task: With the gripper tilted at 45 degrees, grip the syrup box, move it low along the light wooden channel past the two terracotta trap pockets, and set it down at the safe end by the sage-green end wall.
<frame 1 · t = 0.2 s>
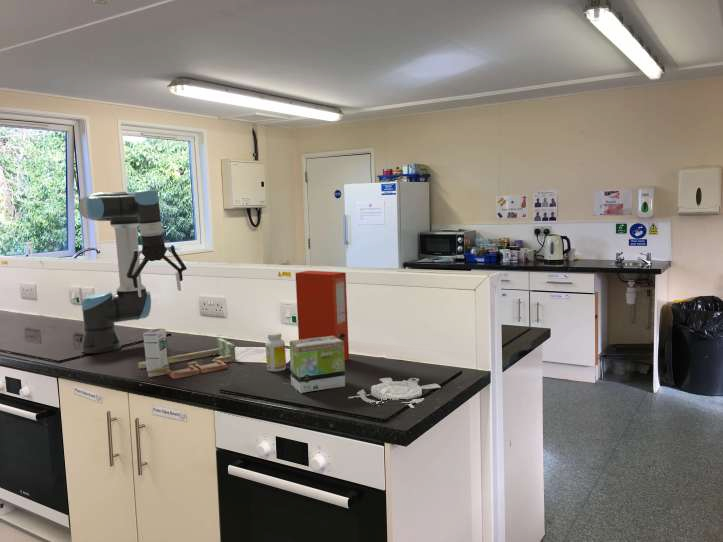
hand: (160, 293, 215), 27 cm above the table, tool pointing down, fingers open, 13 cm apart
tea box: (318, 386, 190), on the table
supplement bottle: (276, 370, 210), on the table
syrup box: (158, 370, 216), on the table
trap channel: (185, 364, 222), on the table
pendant: (396, 394, 181), on the table
file binder: (324, 359, 222), on the table
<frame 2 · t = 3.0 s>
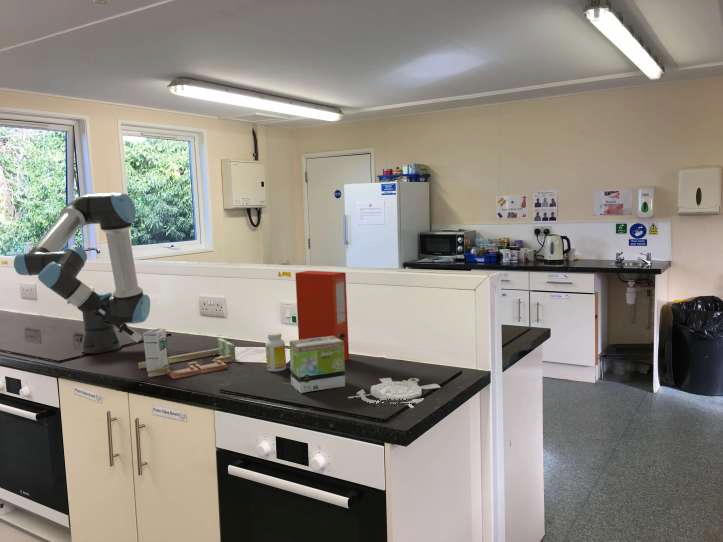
hand: (134, 336, 210), 14 cm above the table, tool tilted 45°, fingers open, 13 cm apart
nothing on the table moved.
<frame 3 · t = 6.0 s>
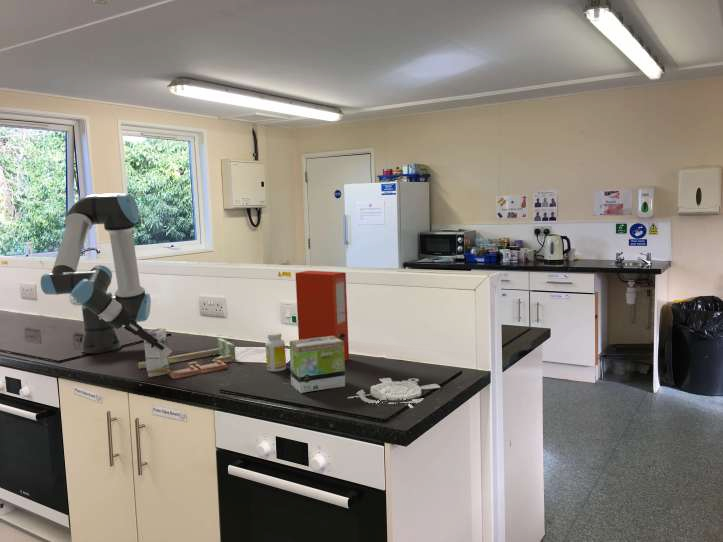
hand: (166, 351, 217), 6 cm above the table, tool tilted 45°, fingers closed on syrup box, 8 cm apart
syrup box: (158, 370, 216), on the table, touching gripper
everything else where it was.
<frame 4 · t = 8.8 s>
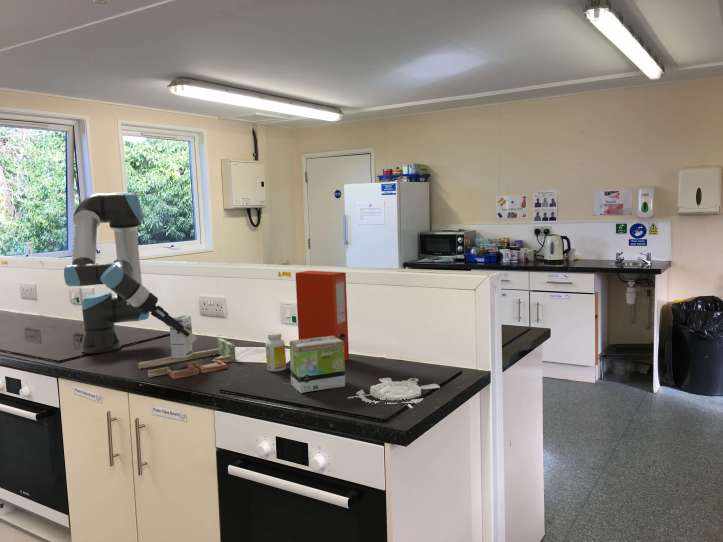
hand: (190, 338, 221), 10 cm above the table, tool tilted 45°, fingers closed on syrup box, 8 cm apart
syrup box: (182, 356, 220), point 3 cm above the table, touching gripper
everything else where it was.
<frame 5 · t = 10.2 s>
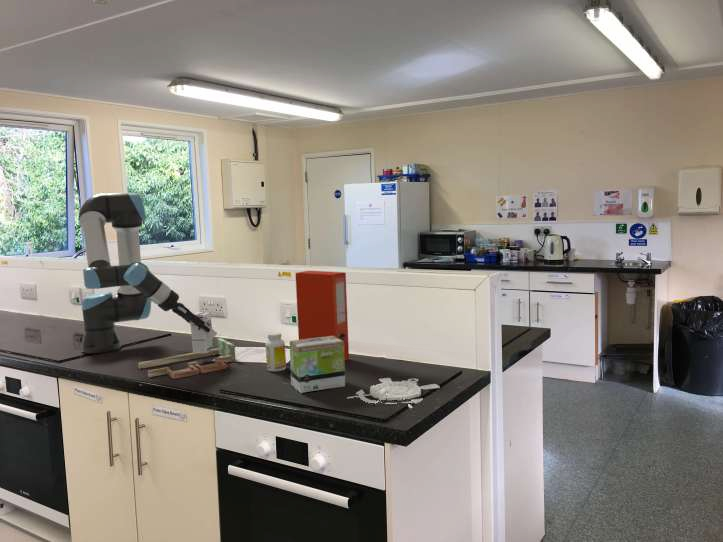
hand: (210, 334, 226), 10 cm above the table, tool tilted 45°, fingers closed on syrup box, 8 cm apart
syrup box: (203, 352, 225), point 4 cm above the table, touching gripper
everything else where it was.
when the fingers open (7 cm above the table, at t = 11.4 s): syrup box drops 1 cm, on the table.
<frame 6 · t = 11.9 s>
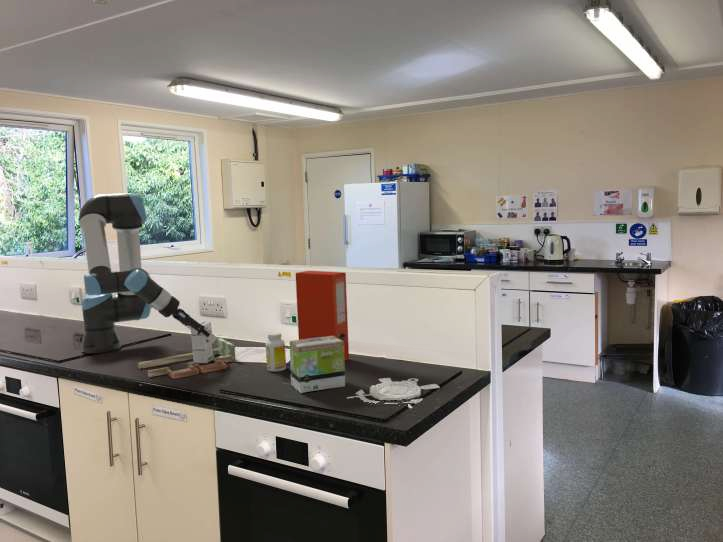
hand: (208, 337, 226), 9 cm above the table, tool tilted 45°, fingers open, 13 cm apart
syrup box: (203, 361, 225), on the table
everything else where it was.
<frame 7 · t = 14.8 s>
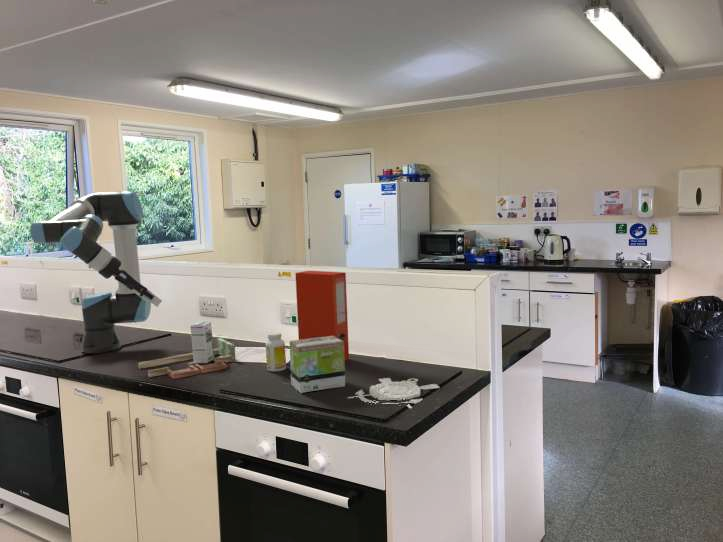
hand: (154, 301, 213), 25 cm above the table, tool tilted 45°, fingers open, 13 cm apart
nothing on the table moved.
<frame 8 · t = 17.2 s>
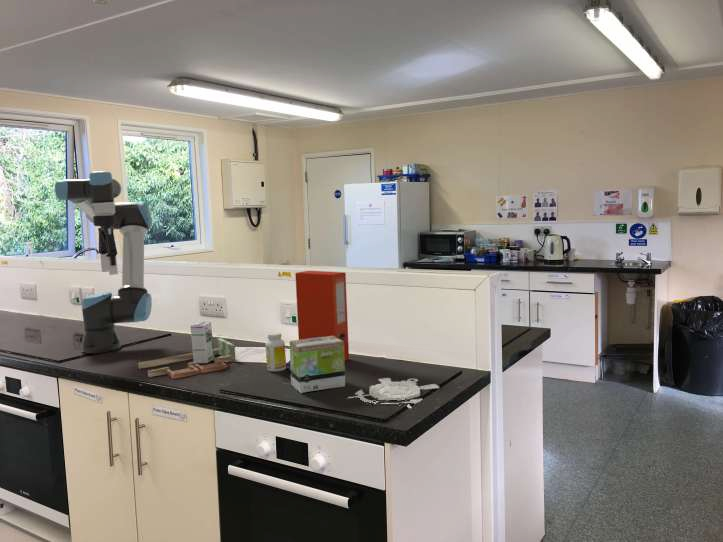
hand: (109, 273, 220), 35 cm above the table, tool pointing down, fingers open, 13 cm apart
nothing on the table moved.
at the end: syrup box inside the target area (0.1 cm from its centre), on the table; syrup box tilted 0°; the gripper is holding nothing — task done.
